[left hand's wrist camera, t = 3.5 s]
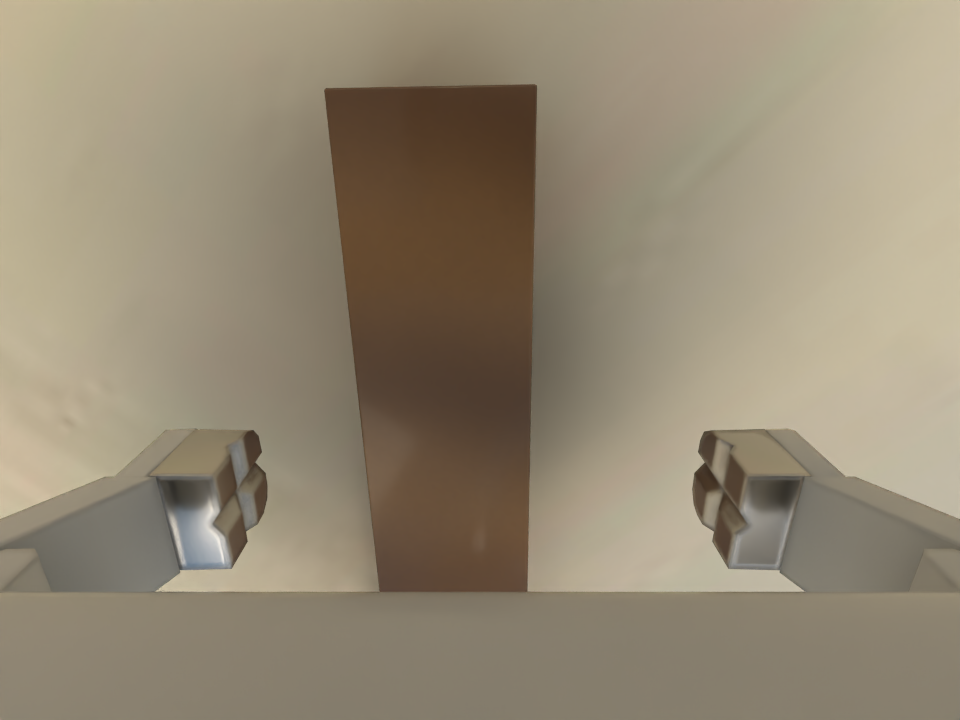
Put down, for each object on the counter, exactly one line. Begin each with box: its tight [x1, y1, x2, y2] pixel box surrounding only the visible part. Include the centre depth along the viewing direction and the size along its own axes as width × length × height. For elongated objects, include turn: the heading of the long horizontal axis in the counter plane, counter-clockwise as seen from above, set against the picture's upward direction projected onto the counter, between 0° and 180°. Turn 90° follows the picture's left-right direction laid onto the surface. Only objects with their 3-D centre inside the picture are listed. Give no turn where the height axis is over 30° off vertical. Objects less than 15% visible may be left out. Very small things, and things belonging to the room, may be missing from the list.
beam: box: [324, 84, 537, 592], centre depth 27 cm, size 54×6×6 cm, turn 1°
